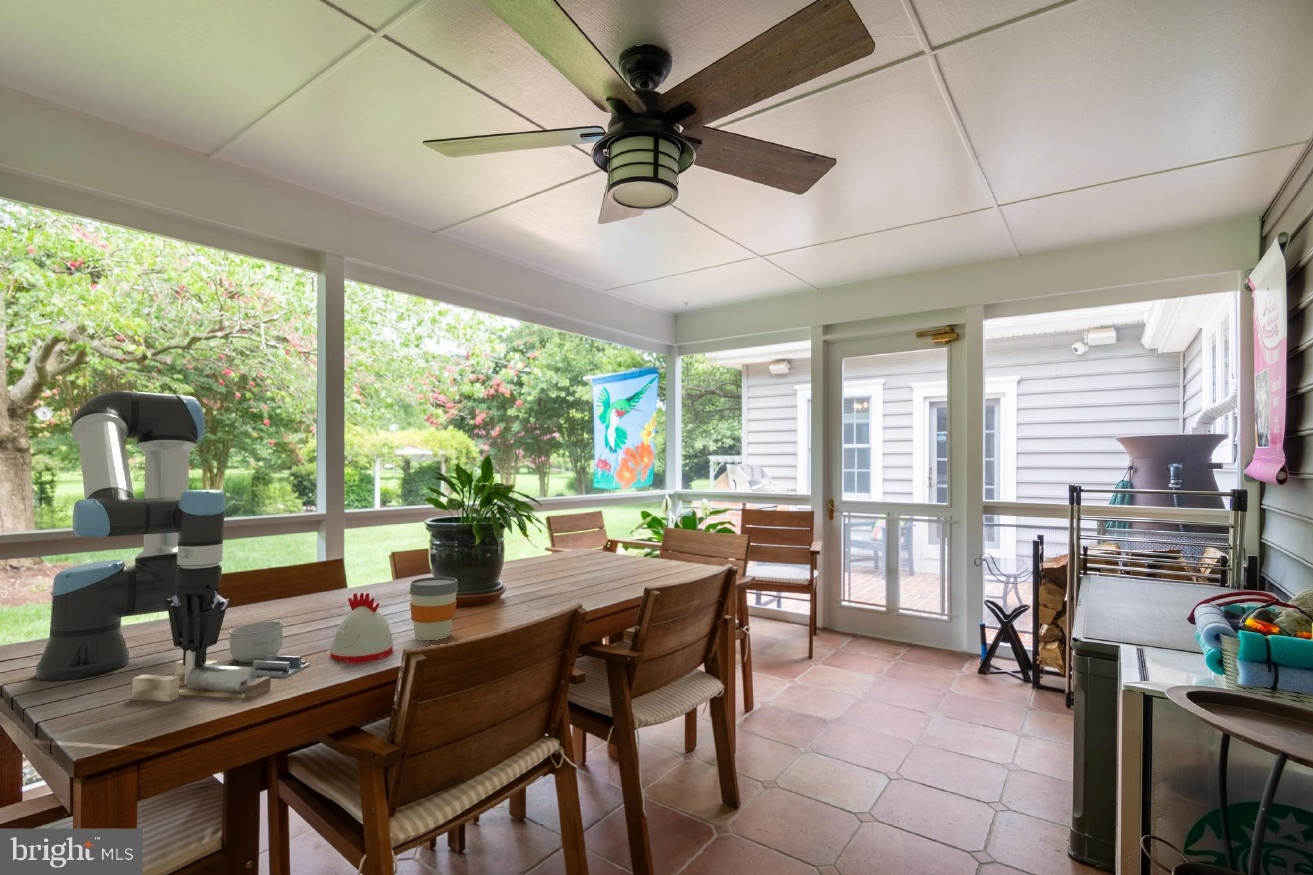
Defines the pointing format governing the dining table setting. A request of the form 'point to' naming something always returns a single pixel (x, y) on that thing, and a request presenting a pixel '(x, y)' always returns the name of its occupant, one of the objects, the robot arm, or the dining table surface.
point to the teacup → (256, 640)
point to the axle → (220, 678)
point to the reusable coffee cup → (433, 606)
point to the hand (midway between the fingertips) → (193, 681)
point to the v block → (279, 666)
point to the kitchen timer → (362, 633)
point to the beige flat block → (169, 686)
